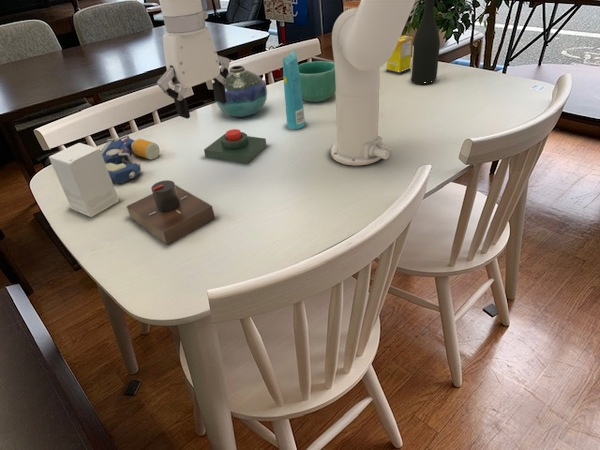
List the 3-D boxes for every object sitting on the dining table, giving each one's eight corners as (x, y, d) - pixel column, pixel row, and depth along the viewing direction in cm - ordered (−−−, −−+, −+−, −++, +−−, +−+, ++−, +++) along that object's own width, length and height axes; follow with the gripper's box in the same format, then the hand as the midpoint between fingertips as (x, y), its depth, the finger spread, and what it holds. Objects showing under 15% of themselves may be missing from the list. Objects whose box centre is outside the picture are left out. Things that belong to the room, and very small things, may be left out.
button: (244, 136, 112) (243, 129, 111) (236, 142, 110) (235, 135, 109) (231, 134, 114) (230, 128, 113) (224, 140, 111) (222, 134, 110)
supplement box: (397, 67, 160) (398, 34, 153) (410, 70, 156) (412, 36, 149) (385, 71, 157) (386, 38, 150) (399, 74, 153) (401, 40, 146)
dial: (172, 197, 92) (166, 176, 89) (184, 204, 89) (178, 183, 87) (153, 206, 89) (146, 185, 87) (165, 214, 87) (158, 193, 84)
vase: (212, 110, 139) (203, 66, 131) (259, 99, 143) (254, 56, 136) (225, 127, 127) (217, 80, 119) (276, 115, 131) (271, 69, 124)
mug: (319, 108, 133) (317, 76, 128) (288, 100, 140) (285, 70, 135) (352, 91, 143) (352, 60, 138) (321, 85, 150) (320, 55, 145)
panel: (215, 218, 90) (212, 205, 88) (167, 245, 84) (163, 231, 82) (176, 195, 98) (173, 182, 97) (130, 218, 92) (126, 205, 91)
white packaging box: (120, 201, 98) (101, 148, 91) (90, 218, 93) (68, 163, 86) (99, 193, 102) (79, 141, 95) (70, 209, 97) (46, 156, 90)
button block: (266, 146, 115) (264, 131, 113) (247, 164, 108) (244, 149, 106) (226, 140, 120) (224, 126, 117) (205, 157, 112) (202, 142, 110)
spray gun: (168, 143, 121) (113, 148, 122) (163, 128, 118) (108, 133, 119) (146, 185, 104) (82, 189, 105) (140, 169, 101) (75, 174, 102)
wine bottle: (405, 82, 146) (411, -23, 129) (421, 75, 150) (429, -27, 133) (424, 87, 141) (434, -21, 124) (441, 81, 145) (452, -26, 127)
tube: (292, 120, 128) (285, 49, 117) (308, 121, 126) (303, 49, 115) (283, 131, 122) (275, 58, 111) (300, 132, 121) (294, 58, 109)
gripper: (208, 12, 94) (223, 93, 104) (134, 32, 84) (159, 119, 94) (232, 15, 89) (245, 99, 99) (156, 36, 80) (179, 127, 89)
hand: (203, 109), depth 97 cm, fingers open, 9 cm apart
